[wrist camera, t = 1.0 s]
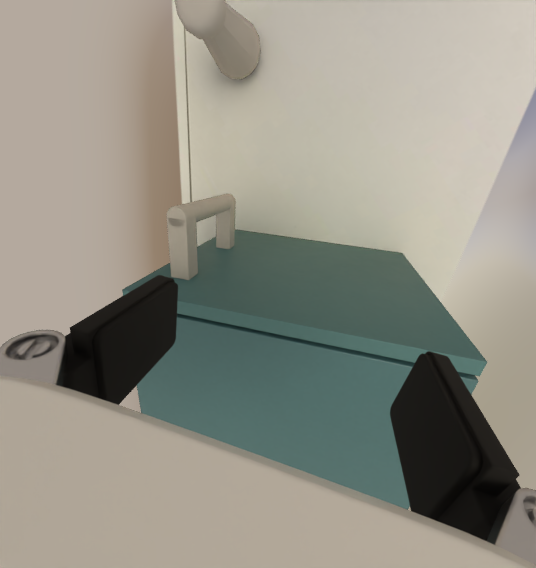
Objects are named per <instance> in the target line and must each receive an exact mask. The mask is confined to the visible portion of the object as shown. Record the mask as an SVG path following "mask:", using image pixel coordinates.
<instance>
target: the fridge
mask: <svg viewBox="0 0 536 568" xmlns="http://www.w3.org/2000/svg"><path fill="white" fill-rule="evenodd" d="M414 364H415V363H414V362H409V361H404V360H399V359H394V358H389V357H385V356H380V355H375V354H370V353H365V352H361V351H356V350H351V349H346V348H341V347H336V346H332V345H327V344H322V343H317V342H312V341H308V340H303V339H298V338H293V337H288V336H283V335H279V334H274V333H269V332H264V331H259V330H255V329H250V328H245V327H240V326H235V325H230V324H226V323H221V322H216V321H211V320H206V319H202V318H197V317H192V316H187V315H182V314H177V326H176V340H175V343H174V345H173V346H172V347H171V348H170V349H169V351H168V352H167V353H166V354H165V355H164V356H163V357H162V358H161V359H160V360H159V361H158V363H157V364H156V365H155V366H154V367H153V368H152V369H151V370H150V371H149V372H148V373H147V374H146V376H145V377H144V378H143V379H142V380H141V381H140V382H139V383H138V384H137V390H138V395H139V402H140V407H141V413H143V414H145V415H148V416H151V417H154V418H157V419H160V420H162V421H165V422H168V423H171V424H174V425H176V426H179V427H182V428H185V429H188V430H191V431H193V432H196V433H199V434H202V435H205V436H207V437H210V438H213V439H216V440H218V441H221V442H224V443H227V444H229V445H232V446H235V447H238V448H241V449H243V450H246V451H249V452H252V453H254V454H257V455H260V456H263V457H265V458H268V459H271V460H274V461H276V462H279V463H282V464H285V465H288V466H290V467H293V468H296V469H299V470H301V471H304V472H307V473H309V474H312V475H315V476H318V477H320V478H323V479H326V480H328V481H331V482H334V483H337V484H339V485H342V486H345V487H348V488H350V489H353V490H356V491H358V492H361V493H364V494H367V495H369V496H372V497H375V498H377V499H380V500H383V501H386V502H388V503H391V504H394V505H396V506H399V507H402V508H404V509H407V510H408V508H409V507H410V503H409V499H408V494H407V490H406V485H405V481H404V476H403V472H402V467H401V463H400V458H399V454H398V449H397V445H396V440H395V436H394V431H393V427H392V422H391V418H390V409H391V406H392V404H393V402H394V400H395V398H396V396H397V395H398V393H399V391H400V389H401V387H402V386H403V384H404V382H405V380H406V378H407V376H408V375H409V373H410V371H411V369H412V367H413V366H414ZM458 374H459V375H460V377H461V379H462V380H463V382H464V384H465V385H466V387H467V389H468V390H469V392H470V394H472V392H473V390H474V389H475V387H476V385H477V383H478V379H477V378H476V377H475V375H471V374H467V373H462V372H458Z"/></svg>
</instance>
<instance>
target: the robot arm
mask: <svg viewBox="0 0 536 568" xmlns="http://www.w3.org/2000/svg"><path fill="white" fill-rule="evenodd" d="M177 302H178V284H177V283H175V281H174V279H173V278H169V277H166V276H162V275H158V276H156V277H154V278H152V279H151V280H149V281H147V282H146V283H144V284H142V285H141V286H139V287H137V288H136V289H134V290H132V291H131V292H129V293H127V294H126V295H124V296H122V297H121V298H119V299H117V300H115V301H114V302H112V303H111V304H109V305H107V306H105V307H104V308H102V309H101V310H99V311H97V312H95V313H94V314H92V315H90V316H89V317H87V318H85V319H84V320H82V321H80V322H79V323H77V324H75V325H74V326H72V327H70V330H71V331H70V332H71V333H70V334H68V335H67V336H64V335H63V334H62V333H60V332H58V331H54V330H36V331H31V332H27V333H23V334H20V335H18V336H16V337H13V338H11V339H10V340H8V341H7V342H5V343H4V344H3V345H2V346H1V347H0V568H536V490H533V489H529V488H520V486H519V484H518V482H517V481H516V478H517V477H518V476H519V473H518V472H517V470H516V468H515V467H514V465H513V464H512V462H511V460H510V459H509V457H508V455H507V454H506V452H505V450H504V449H503V447H502V445H501V444H500V442H499V440H498V439H497V437H496V435H495V434H494V432H493V430H492V429H491V427H490V425H489V424H488V422H487V420H486V419H485V418H484V415H483V414H482V412H481V410H480V409H479V407H478V406H477V404H476V402H475V401H474V399H473V397H472V396H471V394H470V392H469V390H468V389H467V387H466V385H465V384H464V382H463V380H462V379H461V377H460V375H459V374H458V372H457V371H456V369H455V367H454V366H453V364H452V362H451V361H450V359H449V358H448V357H447V356H445V355H441V354H438V353H434V352H431V351H428V352H426V353H425V354H423V353H422V354H420V355H419V357H418V358H417V360H416V362H415V364H414V366H413V367H412V369H411V371H410V373H409V375H408V376H407V378H406V380H405V382H404V384H403V386H402V387H401V389H400V391H399V393H398V395H397V396H396V398H395V400H394V402H393V404H392V406H391V409H390V418H391V422H392V427H393V431H394V436H395V440H396V445H397V449H398V454H399V458H400V463H401V467H402V472H403V476H404V481H405V485H406V490H407V494H408V499H409V503H410V508H411V511H409V510H407V509H404V508H402V507H399V506H396V505H394V504H391V503H388V502H386V501H383V500H380V499H377V498H375V497H372V496H369V495H367V494H364V493H361V492H358V491H356V490H353V489H350V488H348V487H345V486H342V485H339V484H337V483H334V482H331V481H328V480H326V479H323V478H320V477H318V476H315V475H312V474H309V473H307V472H304V471H301V470H299V469H296V468H293V467H290V466H288V465H285V464H282V463H279V462H276V461H274V460H271V459H268V458H265V457H263V456H260V455H257V454H254V453H252V452H249V451H246V450H243V449H241V448H238V447H235V446H232V445H229V444H227V443H224V442H221V441H218V440H216V439H213V438H210V437H207V436H205V435H202V434H199V433H196V432H193V431H191V430H188V429H185V428H182V427H179V426H176V425H174V424H171V423H168V422H165V421H162V420H160V419H157V418H154V417H151V416H148V415H145V414H143V413H140V412H137V411H134V410H131V409H128V408H126V407H123V406H120V405H119V404H120V403H121V402H122V400H123V399H124V398H125V397H126V396H127V395H128V394H129V393H130V392H131V390H133V388H134V387H135V386H136V385H137V384H138V383H139V382H140V381H141V380H142V379H143V378H144V377H145V376H146V374H147V373H148V372H149V371H150V370H151V369H152V368H153V367H154V366H155V365H156V364H157V363H158V361H159V360H160V359H161V358H162V357H163V356H164V355H165V354H166V353H167V352H168V351H169V349H170V348H171V347H172V346H173V345H174V343H175V340H176V326H177Z"/></svg>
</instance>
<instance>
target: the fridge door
mask: <svg viewBox="0 0 536 568" xmlns="http://www.w3.org/2000/svg"><path fill="white" fill-rule="evenodd" d="M235 204H236V202H235V198H234V197H233V196H232V195H231V194H224V195H220V196H216V197H211V198H207V199H203V200H199V201H194V202H190V203H186V204H182V205H177V206H173V207H171V208H169V210H168V212H167V227H168V241H169V254H170V263H169V264H167V265H165V266H163V267H162V268H160V269H158V270H156V271H154V272H153V273H151V274H149V275H148V276H146V277H144V278H142V279H140V280H139V281H137V282H135V283H133V284H132V285H130V286H128V287H126V288H125V289H123V290H122V291H123V296H124V295H126V294H127V293H129V292H131V291H132V290H134V289H136V288H137V287H139V286H141V285H142V284H144V283H146V282H147V281H149V280H151V279H152V278H154V277H156V276H158V275H162V276H166V277H169V278H173V279H174V281H175V283H177V284H178V302H177V314H182V315H187V316H192V317H197V318H202V319H206V320H211V321H216V322H221V323H226V324H230V325H235V326H240V327H245V328H250V329H255V330H259V331H264V332H269V333H274V334H279V335H283V336H288V337H293V338H298V339H303V340H308V341H312V342H317V343H322V344H327V345H332V346H336V347H341V348H346V349H351V350H356V351H361V352H365V353H370V354H375V355H380V356H385V357H389V358H394V359H399V360H404V361H409V362H414V363H415V362H416V360H417V358H418V357H419V355H420V354H422V353H423V354H425V353H426V352H428V351H431V352H434V353H438V354H441V355H445V356H447V357H448V358H449V359H450V361H451V362H452V364H453V366H454V367H455V369H456V371H457V372H462V373H467V374H471V375H476V376H480V375H481V373H482V371H483V369H484V367H485V366H486V364H487V361H486V360H485V358H484V357H483V356H482V355H481V354H480V352H479V351H478V349H477V348H476V347H475V346H474V345H473V343H472V342H471V341H470V339H469V338H468V337H467V336H466V334H465V333H464V332H463V330H462V329H461V328H460V327H459V325H458V324H457V323H456V321H455V320H454V319H453V318H452V316H451V315H450V314H449V312H448V311H447V310H446V309H445V307H444V306H443V305H442V303H441V302H440V301H439V300H438V298H437V297H436V296H435V294H434V293H433V292H432V291H431V289H430V288H429V287H428V286H427V284H426V283H425V282H424V280H423V279H422V278H421V277H420V275H419V274H418V273H417V271H416V270H415V269H414V268H413V266H412V265H411V264H410V263H409V261H408V260H407V259H406V257H405V256H404V255H403V254H402V253H397V252H390V251H383V250H376V249H369V248H362V247H355V246H348V245H341V244H333V243H326V242H319V241H312V240H305V239H298V238H291V237H284V236H277V235H270V234H263V233H256V232H248V231H241V230H235ZM214 215H216V237H214V238H212V239H211V240H209V241H207V242H205V243H204V244H202V245H200V246H198V247H197V228H196V222H198V221H201V220H203V219H206V218H209V217H211V216H214Z"/></svg>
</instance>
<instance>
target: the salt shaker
mask: <svg viewBox="0 0 536 568" xmlns="http://www.w3.org/2000/svg"><path fill="white" fill-rule="evenodd" d="M175 4H176V9H177V14H178V16H179V18H180V20H181V22H182V23H183V25H184V27H185V28H186V30H187V31H188V32H190V33H191V34H193V35H194V36H196V37H197V38H199V39H203V41H204V42H205V44H206V46H207V48H208V50H209V51H210V53H211V55H212V57H213V58H214V60H215V62H216V64H217V66H218V67H219V69H220V71H221V72H222V73H223V74H225V75H226V76H228V77H229V78H232V79H243V78H245V77H247V76H248V75H250V74H251V73H252V72H253V70H254V69H255V67H256V66H257V65H258V61H259V56H260V52H261V50H260V40H259V35H258V33H257V31H256V29H255V28H254V26H253V24H252V23H251V22H250V21H248V20H247V19H246V18H244V17H243V16H242V15H240V14H239V13H238V12H236V11H235V10H234V9H233V8H232V7H230V6H229V5H228V4H227V3H226V2H225V0H175Z"/></svg>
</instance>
